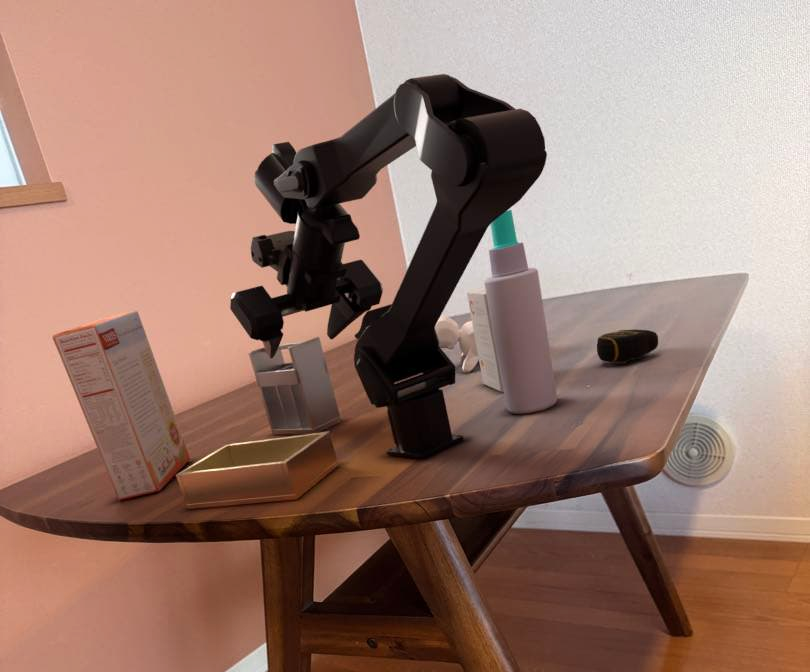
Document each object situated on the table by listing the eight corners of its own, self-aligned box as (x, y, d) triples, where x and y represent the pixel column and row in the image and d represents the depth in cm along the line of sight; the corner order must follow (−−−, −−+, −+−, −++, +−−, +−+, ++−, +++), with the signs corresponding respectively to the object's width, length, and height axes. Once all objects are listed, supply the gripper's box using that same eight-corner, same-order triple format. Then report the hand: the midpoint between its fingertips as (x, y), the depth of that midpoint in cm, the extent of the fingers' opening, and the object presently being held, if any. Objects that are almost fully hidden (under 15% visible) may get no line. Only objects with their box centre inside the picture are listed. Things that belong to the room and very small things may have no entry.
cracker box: (152, 468, 108) (97, 318, 101) (192, 460, 108) (140, 308, 100) (114, 502, 96) (48, 333, 88) (160, 493, 95) (97, 321, 87)
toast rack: (341, 421, 109) (319, 336, 105) (315, 434, 105) (290, 346, 101) (299, 422, 115) (276, 342, 110) (272, 434, 111) (247, 352, 107)
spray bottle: (552, 411, 89) (520, 208, 81) (501, 417, 91) (466, 221, 83) (562, 397, 94) (533, 204, 86) (514, 403, 96) (481, 216, 88)
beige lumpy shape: (511, 371, 129) (422, 357, 128) (522, 319, 126) (431, 304, 125) (518, 381, 121) (423, 365, 120) (530, 326, 118) (433, 309, 117)
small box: (545, 381, 104) (529, 281, 99) (501, 393, 103) (483, 293, 98) (524, 373, 111) (508, 280, 106) (482, 384, 110) (464, 291, 105)
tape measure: (662, 354, 102) (659, 326, 101) (623, 368, 100) (620, 339, 98) (626, 353, 108) (622, 326, 107) (588, 366, 106) (584, 339, 104)
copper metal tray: (338, 465, 88) (329, 431, 87) (296, 499, 80) (286, 462, 78) (236, 476, 94) (226, 444, 92) (187, 509, 85) (175, 474, 84)
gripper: (348, 191, 95) (328, 288, 108) (210, 220, 87) (206, 322, 100) (397, 250, 92) (371, 343, 105) (259, 287, 83) (248, 383, 96)
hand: (300, 346), depth 102 cm, fingers open, 9 cm apart
